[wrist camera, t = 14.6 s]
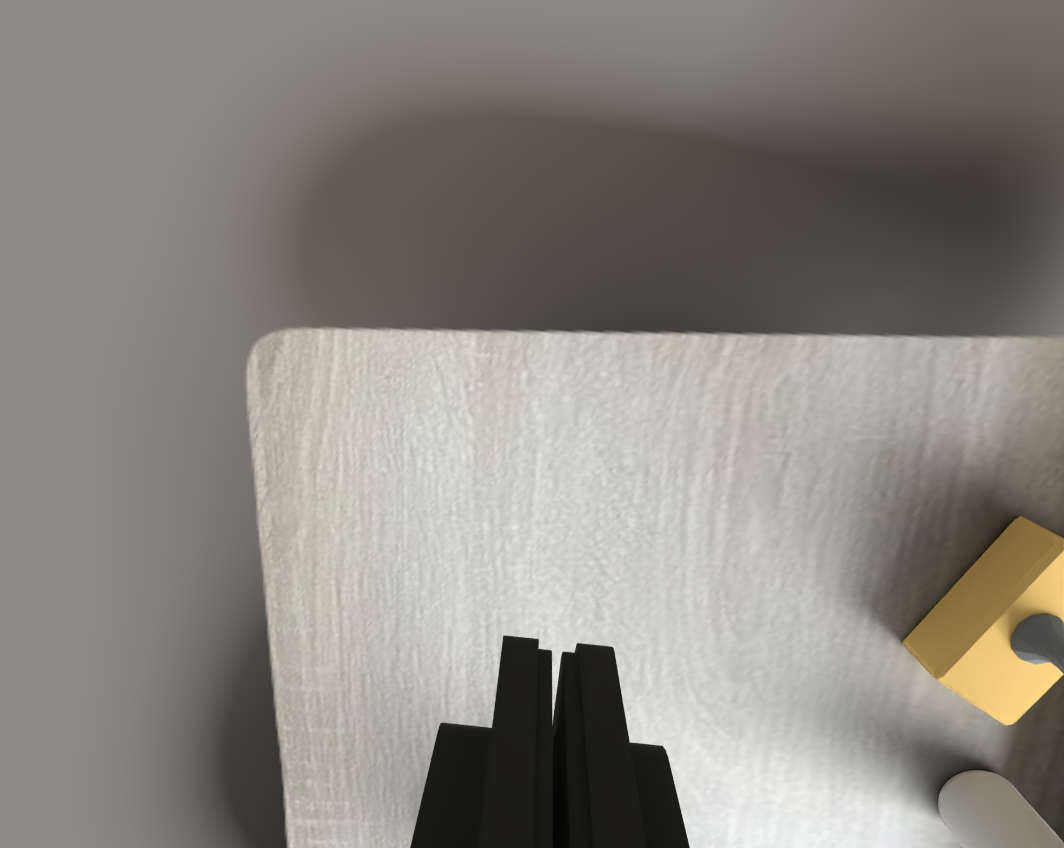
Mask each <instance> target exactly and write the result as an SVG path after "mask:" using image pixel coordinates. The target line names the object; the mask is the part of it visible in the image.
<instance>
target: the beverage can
mask: <svg viewBox="0 0 1064 848" xmlns="http://www.w3.org/2000/svg"><path fill="white" fill-rule="evenodd" d="M938 804H939V805H938V808H939V812H940V816H941V818H942V820H943V822H944V824H945V825H946V827H947V828H948V829H949V831H950V832H951V834H952V835H953V837H954V838H955V839H956V841H957V842H958V844H959V845H960V846H961V848H1064V842H1063V841H1062V840H1061V839H1060V838H1059V837H1058V836H1057V835H1056V833H1055V832H1054V831H1053V830H1052V829H1051V828H1050V827H1049V826H1048V825H1047V823H1046V822H1045V821H1044V820H1043V819H1042V818H1041V817H1040V816H1039V814H1038V813H1037V812H1036V811H1035V810H1034V809H1033V808H1032V807H1031V806H1030V804H1029V803H1028V802H1027V801H1026V800H1025V799H1024V798H1023V797H1022V795H1021V794H1020V793H1019V792H1018V791H1017V790H1016V789H1015V788H1014V787H1013V785H1012V784H1011V783H1010V782H1009V781H1007V780H1006V779H1005V778H1004V777H1002V776H1000V775H998V774H996V773H992V772H987V771H982V770H970V771H966V772H962V773H960V774H957V775H955V776H954V777H952V778H951V779H950V780H948V781H947V782H946V784H945V785H944V786H943V787H942V790H941V792H940V794H939V801H938Z"/></svg>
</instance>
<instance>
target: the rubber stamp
mask: <svg viewBox="0 0 1064 848" xmlns="http://www.w3.org/2000/svg"><path fill="white" fill-rule="evenodd" d="M902 644H903V645H904V646H905V647H906V648H907V650H908V651H909V652H910V653H911V654H912V655H913V656H914V657H915V658H916V659H917V660H918V661H919V662H920V663H921V665H922V666H923V667H924V668H925V669H926V670H927V671H928V672H929V673H930V674H931V675H932V676H933V677H934V678H935V679H936V680H937V681H939V682H940V683H942V684H943V685H945V686H946V687H948V688H950V689H951V690H953V691H954V692H956V693H957V694H959V695H960V696H962V697H963V698H965V699H966V700H968V701H969V702H971V703H972V704H974V705H975V706H977V707H979V708H980V709H982V710H983V711H985V712H986V713H988V714H989V715H991V716H992V717H994V718H995V719H997V720H998V721H1000V722H1001V723H1003V724H1004V725H1006V726H1007V725H1010V724H1014V723H1015V722H1016V721H1017V720H1018V719H1019V718H1020V717H1021V716H1022V715H1023V714H1024V713H1025V712H1026V711H1027V710H1028V709H1029V708H1030V707H1031V706H1032V705H1033V704H1034V703H1035V702H1036V701H1037V700H1038V699H1039V698H1040V697H1041V696H1042V695H1043V694H1044V693H1045V692H1046V691H1047V690H1048V689H1049V688H1050V687H1051V686H1052V685H1053V684H1054V683H1055V682H1056V681H1057V680H1058V679H1059V678H1060V677H1061V676H1062V675H1063V674H1064V539H1063V538H1062V537H1060V536H1058V535H1056V534H1054V533H1052V532H1050V531H1048V530H1046V529H1045V528H1043V527H1041V526H1039V525H1037V524H1035V523H1033V522H1031V521H1029V520H1027V519H1026V518H1024V517H1022V516H1020V517H1018V518H1017V519H1015V520H1014V521H1013V522H1012V523H1011V524H1010V525H1009V526H1008V527H1007V529H1006V530H1005V531H1004V532H1003V533H1002V534H1001V535H1000V536H999V537H998V538H997V539H996V541H995V542H994V543H993V544H992V545H991V546H990V547H989V548H988V549H987V550H986V551H985V552H984V554H983V555H982V556H981V557H980V558H979V559H978V560H977V561H976V562H975V563H974V564H973V566H972V567H971V568H970V569H969V570H968V571H967V572H966V573H965V574H964V575H963V576H962V578H961V579H960V580H959V581H958V582H957V583H956V584H955V585H954V586H953V587H952V588H951V589H950V591H949V592H948V593H947V594H946V595H945V596H944V597H943V598H942V599H941V600H940V601H939V603H938V604H937V605H936V606H935V607H934V608H933V609H932V610H931V611H930V612H929V613H928V614H927V616H926V617H925V618H924V619H923V620H922V621H921V622H920V623H919V624H918V625H917V626H916V628H915V629H914V630H913V631H912V632H911V633H910V634H909V635H908V636H907V637H906V638H905V640H904V641H903V643H902Z"/></svg>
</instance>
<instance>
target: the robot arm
mask: <svg viewBox="0 0 1064 848" xmlns="http://www.w3.org/2000/svg"><path fill="white" fill-rule="evenodd" d="M538 646H539V640H538V639H533V638H524V637H514V636H503V643H502V652H501V660H500V668H499V676H498V684H497V692H496V701H495V709H494V717H493V725H492V728H487V727H478V726H468V725H459V724H449V723H441V724H440V726H439V730H438V733H437V737H436V742H435V746H434V750H433V754H432V758H431V763H430V767H429V771H428V775H427V779H426V784H425V788H424V792H423V796H422V801H421V805H420V809H419V813H418V817H417V822H416V826H415V830H414V834H413V839H412V843H411V847H410V848H690V847H689V843H688V839H687V834H686V830H685V826H684V822H683V818H682V814H681V809H680V805H679V801H678V797H677V793H676V789H675V784H674V780H673V776H672V772H671V768H670V763H669V759H668V756H667V753H666V750H665V749H664V747H663V746H658V745H649V744H639V743H630V742H629V736H628V730H627V724H626V718H625V712H624V706H623V700H622V694H621V688H620V682H619V676H618V670H617V664H616V658H615V652H614V648H613V647H609V646H600V645H590V644H581V643H577V645H576V649H575V653H571V652H562V656H561V663H560V671H559V679H558V687H557V694H556V702H555V710H554V718H553V726H552V651H551V650H543V649H538Z"/></svg>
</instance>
